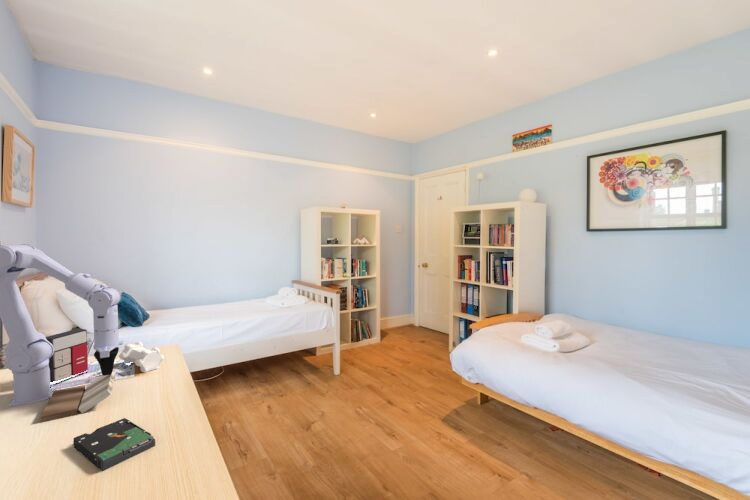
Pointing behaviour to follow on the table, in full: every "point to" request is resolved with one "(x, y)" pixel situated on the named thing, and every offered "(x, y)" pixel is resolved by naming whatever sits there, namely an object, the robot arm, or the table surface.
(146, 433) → the disk drive
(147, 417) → the table surface
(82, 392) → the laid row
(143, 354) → the bone shaped toy
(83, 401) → the plank
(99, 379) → the plank
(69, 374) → the calculator
